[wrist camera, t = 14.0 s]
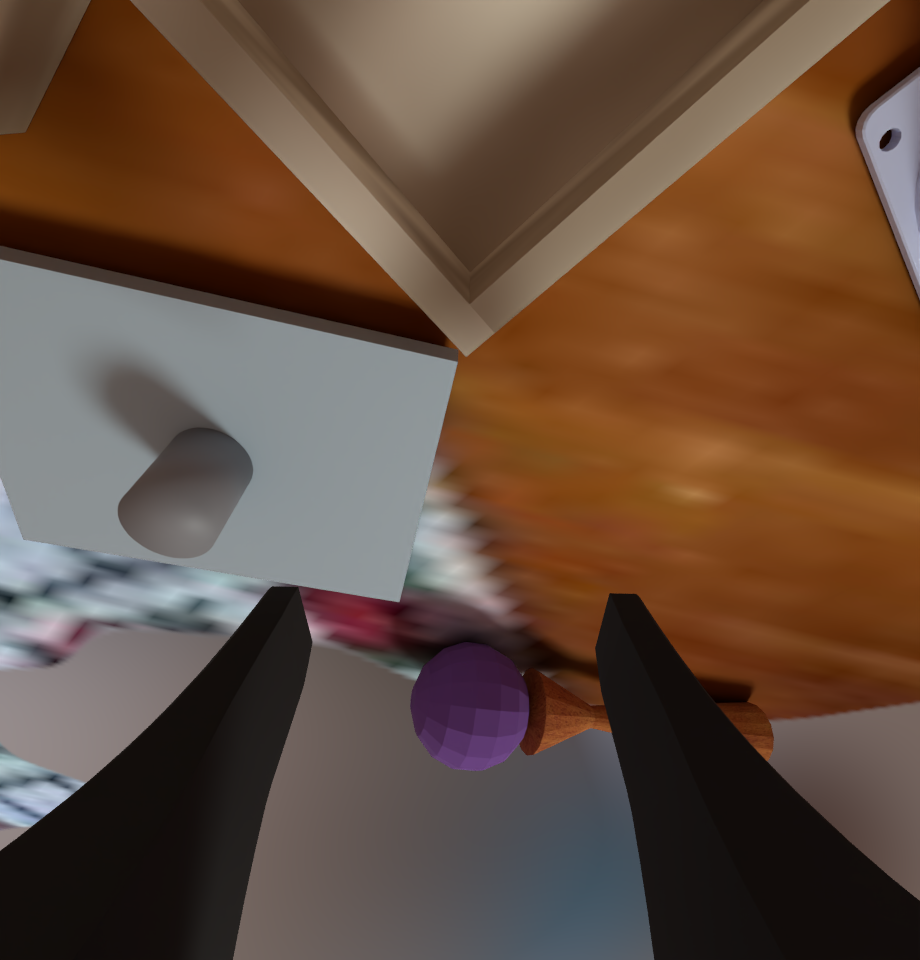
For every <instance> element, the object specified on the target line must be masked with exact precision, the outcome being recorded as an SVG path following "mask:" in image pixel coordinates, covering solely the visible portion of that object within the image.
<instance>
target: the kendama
mask: <svg viewBox="0 0 920 960" xmlns="http://www.w3.org/2000/svg"><path fill="white" fill-rule="evenodd" d="M716 704H717V705H718V706H719V707H720V709H721V710H722V711H723V712H724V713H725V715H726V716H727V717H728V718H729V719H730V721H731V722H732V723H733V724H734V725H735V726H736V728H737V729H738V730H739V731H740V732H741V733H742V735H743V736H744V737H745V738H746V739H747V740H748V741H749V742H750V744H751V745H752V746H753V747H754V748H755V749H756V750H757V751H758V752H759V753H760V754H761V755H762V756H763V758H764V759H765V760H766V761H768V759H769V758H770V755H771V753H772V751H773V741H774V737H773V733H772V728H771V724H770V722H769V720H768V719H767V717H766V715H765V713H764V712H763V711H762V710H761V709H760V708H759V707H758V706H757V705H754V704H751V703H749V702H736V703H716ZM410 707H411V713H412V718H413V723H414V728H415V732H416V734H417V736H418V738H419V739H420V741H421V742H422V743H423V745H424V746H425V748H426V749H427V751H428V752H429V753H430V755H431V756H432V757H433V758H435V759H437V760H438V761H440V762H442V763H444V764H445V765H447V766H449V767H450V768H452V769H461V770H462V769H463V770H474V771H476V770H484V769H487V768H489V767H491V766H494V765H496V764H499V763H501V762H504V761H505V760H506V759H507V757H508V756H509V755H510V754H511V753H512V752H513V750H514V749H515V748H516V747H517V746H518V745H519V744H520V747H521V749H522V751H523V752H524V753H525V754H526V755H534V754H536V753H538V752H540V751H542V750H544V749H546V748H549V747H551V746H553V745H555V744H557V743H559V742H561V741H563V740H566V739H568V738H570V737H572V736H574V735H576V734H578V733H580V732H583V731H585V730H587V729H589V728H593V729H598V730H602V731H606V732H611V733H612V731H611V728H610V724H609V720H608V716H607V712H606V708H605V705H596V706H590V705H589V704H587V703H586V702H584V701H583V700H581V699H580V698H578V697H576V696H575V695H573V694H572V693H570V692H569V691H567V690H566V689H564V688H563V687H561V686H560V685H558V684H557V683H555V682H554V681H552V680H551V679H549V678H548V677H546V676H545V675H543V674H542V673H540V672H539V671H537V670H535V669H534V668H530V669H528V670H526V671H525V673H524V675H523V676H522V675H521V673H520V672H519V670H518V669H517V667H516V666H515V665H514V663H513V662H512V660H511V659H509V658H508V657H506V656H504V655H503V654H501V653H499V652H498V651H496V650H495V649H493V648H491V647H490V646H488V645H485V644H478V643H470V642H463V643H460V644H457V645H454V646H450V647H447V648H444V649H443V650H442V651H441V652H439V653H438V654H437V655H436V656H435V657H433V658H432V659H431V660H430V661H429V662H428V663H426V664H425V665H424V666H423V668H422V670H421V672H420V674H419V676H418V679H417V681H416V683H415V685H414V687H413V690H412V695H411V705H410Z"/></svg>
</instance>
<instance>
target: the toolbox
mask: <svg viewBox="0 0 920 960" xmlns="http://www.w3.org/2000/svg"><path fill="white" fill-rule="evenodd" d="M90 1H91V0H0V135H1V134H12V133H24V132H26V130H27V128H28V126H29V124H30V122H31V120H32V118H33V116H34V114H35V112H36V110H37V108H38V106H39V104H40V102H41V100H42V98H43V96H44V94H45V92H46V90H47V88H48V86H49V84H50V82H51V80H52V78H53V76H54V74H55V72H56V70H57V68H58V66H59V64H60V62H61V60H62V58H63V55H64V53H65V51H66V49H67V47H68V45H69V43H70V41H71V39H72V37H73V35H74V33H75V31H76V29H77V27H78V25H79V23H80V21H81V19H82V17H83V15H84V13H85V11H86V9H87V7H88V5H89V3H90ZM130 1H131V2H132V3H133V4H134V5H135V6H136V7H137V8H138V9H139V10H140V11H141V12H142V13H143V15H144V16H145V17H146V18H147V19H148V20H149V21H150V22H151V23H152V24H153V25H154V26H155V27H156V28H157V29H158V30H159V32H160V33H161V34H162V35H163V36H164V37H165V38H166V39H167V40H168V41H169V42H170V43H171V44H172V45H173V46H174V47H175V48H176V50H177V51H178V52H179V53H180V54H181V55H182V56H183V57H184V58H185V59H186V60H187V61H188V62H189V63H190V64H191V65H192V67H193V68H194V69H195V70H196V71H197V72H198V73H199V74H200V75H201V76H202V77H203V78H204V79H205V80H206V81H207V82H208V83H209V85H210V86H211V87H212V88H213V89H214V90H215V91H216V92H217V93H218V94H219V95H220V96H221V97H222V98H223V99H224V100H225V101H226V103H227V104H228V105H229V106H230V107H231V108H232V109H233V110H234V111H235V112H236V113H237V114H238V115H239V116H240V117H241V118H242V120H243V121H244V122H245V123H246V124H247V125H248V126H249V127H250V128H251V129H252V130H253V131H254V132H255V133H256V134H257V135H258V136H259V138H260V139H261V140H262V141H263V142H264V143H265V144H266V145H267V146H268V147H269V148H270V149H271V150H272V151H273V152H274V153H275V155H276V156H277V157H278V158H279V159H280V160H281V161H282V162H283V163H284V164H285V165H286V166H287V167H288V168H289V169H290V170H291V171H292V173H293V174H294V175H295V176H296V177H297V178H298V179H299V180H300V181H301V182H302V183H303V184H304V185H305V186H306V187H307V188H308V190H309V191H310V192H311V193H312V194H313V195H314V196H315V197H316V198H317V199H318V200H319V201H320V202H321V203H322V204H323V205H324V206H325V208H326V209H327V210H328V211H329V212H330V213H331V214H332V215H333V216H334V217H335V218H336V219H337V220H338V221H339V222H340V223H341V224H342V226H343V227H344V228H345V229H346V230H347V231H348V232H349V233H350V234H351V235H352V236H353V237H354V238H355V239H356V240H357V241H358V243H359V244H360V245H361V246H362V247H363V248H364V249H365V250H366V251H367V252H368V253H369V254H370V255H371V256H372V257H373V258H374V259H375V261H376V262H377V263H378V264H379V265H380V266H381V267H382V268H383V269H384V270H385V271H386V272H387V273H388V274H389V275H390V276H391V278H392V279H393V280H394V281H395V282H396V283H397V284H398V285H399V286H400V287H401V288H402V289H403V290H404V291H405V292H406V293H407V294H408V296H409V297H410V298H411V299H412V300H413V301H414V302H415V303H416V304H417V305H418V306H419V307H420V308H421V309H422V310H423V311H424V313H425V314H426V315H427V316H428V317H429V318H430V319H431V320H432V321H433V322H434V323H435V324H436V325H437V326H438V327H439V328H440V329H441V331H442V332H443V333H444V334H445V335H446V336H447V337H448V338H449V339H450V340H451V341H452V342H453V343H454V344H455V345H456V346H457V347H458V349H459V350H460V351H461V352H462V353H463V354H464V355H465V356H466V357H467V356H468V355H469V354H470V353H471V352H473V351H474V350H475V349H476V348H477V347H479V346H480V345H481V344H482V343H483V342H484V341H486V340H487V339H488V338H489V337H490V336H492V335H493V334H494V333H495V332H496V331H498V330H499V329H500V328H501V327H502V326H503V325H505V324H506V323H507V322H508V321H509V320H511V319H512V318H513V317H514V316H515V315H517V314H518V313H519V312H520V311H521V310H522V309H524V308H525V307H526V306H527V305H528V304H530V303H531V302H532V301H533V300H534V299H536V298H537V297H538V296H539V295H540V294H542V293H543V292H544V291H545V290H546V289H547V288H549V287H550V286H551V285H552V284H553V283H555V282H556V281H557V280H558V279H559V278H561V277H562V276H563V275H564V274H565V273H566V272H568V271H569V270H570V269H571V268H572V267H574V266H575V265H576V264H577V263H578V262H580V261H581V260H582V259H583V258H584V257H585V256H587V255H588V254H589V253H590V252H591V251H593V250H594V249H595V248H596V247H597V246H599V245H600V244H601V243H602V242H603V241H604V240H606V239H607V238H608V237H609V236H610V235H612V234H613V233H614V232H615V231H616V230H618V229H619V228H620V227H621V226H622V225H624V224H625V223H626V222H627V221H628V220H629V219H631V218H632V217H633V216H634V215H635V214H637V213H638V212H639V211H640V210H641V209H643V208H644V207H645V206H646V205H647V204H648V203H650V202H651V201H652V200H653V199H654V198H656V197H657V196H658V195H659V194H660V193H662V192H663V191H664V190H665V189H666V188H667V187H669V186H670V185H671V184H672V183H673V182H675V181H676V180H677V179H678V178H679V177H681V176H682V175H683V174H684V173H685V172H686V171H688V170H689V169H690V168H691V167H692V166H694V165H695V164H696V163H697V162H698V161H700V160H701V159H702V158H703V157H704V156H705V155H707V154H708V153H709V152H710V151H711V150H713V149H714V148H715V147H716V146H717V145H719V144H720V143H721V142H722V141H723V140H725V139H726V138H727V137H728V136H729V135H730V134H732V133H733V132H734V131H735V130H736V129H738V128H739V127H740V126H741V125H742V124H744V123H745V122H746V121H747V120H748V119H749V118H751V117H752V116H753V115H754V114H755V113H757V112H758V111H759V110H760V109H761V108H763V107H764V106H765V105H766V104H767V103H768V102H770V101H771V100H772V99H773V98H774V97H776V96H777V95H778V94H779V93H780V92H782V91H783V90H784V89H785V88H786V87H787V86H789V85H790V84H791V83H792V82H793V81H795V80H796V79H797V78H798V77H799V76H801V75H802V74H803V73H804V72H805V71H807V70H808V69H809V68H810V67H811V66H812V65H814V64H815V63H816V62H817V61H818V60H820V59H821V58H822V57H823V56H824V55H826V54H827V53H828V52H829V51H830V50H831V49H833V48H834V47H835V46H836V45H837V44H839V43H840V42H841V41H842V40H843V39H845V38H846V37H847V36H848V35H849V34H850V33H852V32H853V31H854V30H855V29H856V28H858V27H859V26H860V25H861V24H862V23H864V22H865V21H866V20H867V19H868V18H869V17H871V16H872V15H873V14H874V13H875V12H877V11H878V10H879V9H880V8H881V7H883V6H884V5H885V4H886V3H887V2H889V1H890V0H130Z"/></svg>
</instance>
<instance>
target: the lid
mask: <svg viewBox="0 0 920 960" xmlns="http://www.w3.org/2000/svg"><path fill="white" fill-rule="evenodd" d="M457 363H458V350H457V349H452V348H448V347H444V346H439V345H435V344H430V343H426V342H422V341H417V340H413V339H408V338H404V337H400V336H395V335H391V334H386V333H382V332H378V331H373V330H369V329H364V328H360V327H356V326H351V325H347V324H342V323H338V322H334V321H329V320H325V319H320V318H316V317H312V316H307V315H303V314H298V313H294V312H290V311H285V310H281V309H276V308H272V307H268V306H263V305H259V304H254V303H250V302H246V301H241V300H237V299H232V298H228V297H224V296H219V295H215V294H210V293H206V292H202V291H197V290H193V289H188V288H184V287H180V286H175V285H171V284H166V283H162V282H158V281H153V280H149V279H144V278H140V277H136V276H131V275H127V274H122V273H118V272H114V271H109V270H105V269H100V268H96V267H92V266H87V265H83V264H78V263H74V262H70V261H65V260H61V259H56V258H52V257H48V256H43V255H39V254H34V253H30V252H26V251H21V250H17V249H12V248H8V247H4V246H0V477H1V480H2V482H3V485H4V488H5V491H6V493H7V496H8V499H9V501H10V504H11V507H12V510H13V512H14V515H15V518H16V521H17V523H18V526H19V529H20V532H21V534H22V537H23V539H24V540H30V541H36V542H42V543H48V544H54V545H60V546H66V547H72V548H78V549H84V550H90V551H96V552H102V553H108V554H114V555H119V556H125V557H131V558H137V559H143V560H149V561H155V562H161V563H167V564H173V565H179V566H185V567H191V568H197V569H203V570H209V571H215V572H221V573H227V574H233V575H239V576H245V577H251V578H257V579H263V580H269V581H275V582H281V583H287V584H293V585H299V586H305V587H311V588H317V589H323V590H329V591H335V592H341V593H347V594H353V595H359V596H365V597H371V598H377V599H383V600H389V601H395V602H399V601H400V597H401V593H402V589H403V585H404V581H405V577H406V573H407V569H408V564H409V560H410V556H411V552H412V548H413V544H414V540H415V536H416V531H417V527H418V523H419V519H420V515H421V511H422V507H423V503H424V498H425V494H426V490H427V486H428V482H429V478H430V474H431V470H432V466H433V461H434V457H435V453H436V449H437V445H438V441H439V437H440V433H441V428H442V424H443V420H444V416H445V412H446V408H447V404H448V400H449V396H450V391H451V387H452V383H453V379H454V375H455V371H456V367H457Z"/></svg>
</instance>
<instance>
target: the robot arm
mask: <svg viewBox="0 0 920 960" xmlns="http://www.w3.org/2000/svg"><path fill="white" fill-rule="evenodd" d="M888 130H891V131H892V137H891V139H890V142H889V143H888V144H887V145H886V146H885V147H884V148H882V149H880V148H879V142H880V140H881V138H882V136H883V135H884V134H885V133H886V132H887V131H888ZM855 131H856V138H857V141H858V143H859V146H860V148H861V151H862V153H863V156H864V158H865V161H866V164H867V166H868V169H869V171H870V174H871V176H872V179H873V182H874V184H875V187H876V189H877V192H878V194H879V197H880V199H881V202H882V205H883V207H884V210H885V212H886V215H887V217H888V220H889V222H890V225H891V228H892V230H893V233H894V235H895V238H896V240H897V243H898V246H899V248H900V251H901V253H902V256H903V258H904V261H905V263H906V266H907V269H908V271H909V274H910V276H911V279H912V281H913V284H914V287H915V289H916V292H917V294H918V297H919V299H920V67H919V68H917V69H916V70H915V71H914V72H912V73H911V74H910V75H908V76H907V77H906V78H905V79H903V80H902V81H901V82H899V83H898V84H897V85H896V86H894V87H893V88H892V89H890V90H889V91H888V92H886V93H885V94H884V95H883V96H881V97H880V98H879V99H877V100H876V101H875V102H874V103H872V104H871V105H870V106H869V107H868V108H867V109H866V110H865V111H864V112H863V113H862V115H861V116H860V118H859V120H858V122H857V126H856V130H855ZM311 647H312V638H311V634H310V631H309V627H308V623H307V619H306V615H305V611H304V607H303V604H302V600H301V596H300V592H299V588H298V587H274V586H272V587H271V588H270V589H269V590H268V591H267V592H266V593H265V595H264V596H263V597H262V599H261V600H260V601H259V602H258V604H257V605H256V606H255V608H254V609H253V610H252V611H251V613H250V614H249V615H248V616H247V618H246V619H245V620H244V621H243V623H242V624H241V625H240V626H239V628H238V629H237V630H236V631H235V632H234V634H233V635H232V636H231V637H230V639H229V640H228V641H227V642H226V643H225V645H224V646H223V647H222V648H221V649H220V650H219V652H218V653H217V654H216V655H215V656H214V657H213V659H212V660H211V661H210V662H209V663H208V664H207V666H206V667H205V668H204V669H203V670H202V671H201V672H200V673H199V675H198V676H197V677H196V678H195V679H194V680H193V681H192V682H191V683H190V684H189V685H188V686H187V687H186V689H185V690H184V691H183V692H182V693H181V694H180V695H179V696H178V697H177V698H176V699H175V700H174V702H173V703H172V704H171V705H170V706H169V707H168V708H167V709H166V710H165V711H164V712H163V713H162V714H161V715H160V716H159V717H158V718H157V719H156V720H155V721H154V722H153V723H152V724H151V725H150V726H149V727H148V728H147V729H146V730H145V731H143V732H142V733H141V734H140V735H139V736H138V737H137V738H136V739H135V740H134V741H133V742H132V743H131V744H130V745H129V746H128V747H126V749H124V750H123V751H122V752H121V753H120V754H119V755H118V756H116V757H115V758H114V759H113V760H112V761H111V762H110V763H109V764H107V765H106V766H105V767H104V768H103V769H102V770H101V771H100V772H99V773H97V774H96V775H95V776H94V777H93V778H92V779H90V780H89V781H88V782H87V783H86V784H84V785H83V786H82V787H81V788H80V789H79V790H77V791H76V792H75V793H74V794H72V795H71V796H70V797H69V798H68V799H66V800H65V801H64V802H62V803H61V804H60V805H59V806H57V807H56V808H55V809H54V810H52V811H51V812H50V813H48V814H47V815H46V816H45V817H43V818H42V819H41V820H40V821H38V822H37V823H36V824H35V825H33V826H32V827H31V828H29V829H28V830H27V831H26V832H25V833H23V834H22V835H21V836H19V837H18V838H17V839H15V840H14V841H13V842H11V843H10V844H9V845H7V846H6V847H5V848H3V849H2V850H1V851H0V960H233V956H234V951H235V945H236V940H237V934H238V930H239V925H240V920H241V914H242V910H243V904H244V899H245V895H246V890H247V885H248V881H249V876H250V872H251V867H252V862H253V858H254V853H255V848H256V844H257V840H258V836H259V831H260V827H261V822H262V818H263V814H264V810H265V805H266V802H267V798H268V794H269V791H270V788H271V784H272V781H273V778H274V775H275V772H276V769H277V766H278V763H279V760H280V757H281V754H282V751H283V748H284V744H285V741H286V738H287V735H288V732H289V729H290V726H291V723H292V720H293V717H294V714H295V711H296V708H297V705H298V702H299V699H300V695H301V692H302V689H303V686H304V682H305V677H306V672H307V668H308V663H309V657H310V652H311ZM595 650H596V657H597V665H598V672H599V679H600V686H601V692H602V696H603V700H604V704H605V708H606V712H607V716H608V720H609V724H610V728H611V731H612V735H613V739H614V743H615V747H616V750H617V754H618V758H619V762H620V766H621V770H622V773H623V777H624V781H625V785H626V789H627V793H628V798H629V802H630V806H631V811H632V816H633V822H634V828H635V834H636V840H637V846H638V852H639V858H640V864H641V870H642V877H643V884H644V890H645V896H646V903H647V909H648V917H649V924H650V932H651V939H652V946H653V953H654V960H920V901H919V900H918V899H917V898H915V897H914V896H913V895H912V894H910V893H909V892H908V891H907V890H905V889H904V888H903V887H902V886H900V885H899V884H898V883H897V882H895V881H894V880H893V879H892V878H891V877H890V876H888V875H887V874H886V873H885V872H884V871H883V870H881V869H880V868H879V867H878V866H877V865H876V864H875V863H873V862H872V861H871V860H870V859H869V858H868V857H867V856H865V855H864V854H863V853H862V852H861V851H860V850H858V849H857V848H856V847H855V846H854V845H852V843H850V842H849V841H848V840H847V839H846V838H845V837H844V836H843V835H842V834H841V833H840V832H839V831H838V830H837V829H836V828H835V827H833V826H832V825H831V824H830V823H829V822H828V821H827V820H826V819H825V818H824V817H823V816H822V815H821V814H820V813H818V812H817V811H816V810H815V809H814V808H813V807H812V806H811V805H810V804H809V803H808V802H807V801H806V800H805V799H804V798H803V797H801V796H800V795H799V794H798V793H797V792H796V791H795V790H794V789H793V788H792V787H791V786H790V785H789V784H788V783H787V781H786V780H784V778H782V776H781V775H780V774H779V773H778V772H777V771H776V770H775V769H774V768H773V767H772V766H771V765H770V764H769V763H768V762H767V761H766V760H765V759H764V758H763V756H762V755H761V754H760V753H759V752H758V751H757V750H756V749H755V748H754V747H753V746H752V745H751V744H750V742H749V741H748V740H747V739H746V738H745V737H744V736H743V735H742V733H741V732H740V731H739V730H738V729H737V728H736V726H735V725H734V724H733V723H732V722H731V721H730V719H729V718H728V717H727V716H726V715H725V713H724V712H723V711H722V710H721V709H720V707H719V706H718V705H717V704H716V703H715V701H714V700H713V699H712V698H711V696H710V695H709V694H708V693H707V691H706V690H705V689H704V688H703V686H702V685H701V684H700V682H699V681H698V680H697V678H696V677H695V676H694V674H693V673H692V672H691V670H690V669H689V668H688V666H687V665H686V664H685V663H684V661H683V660H682V658H681V657H680V656H679V654H678V653H677V652H676V650H675V649H674V647H673V646H672V645H671V643H670V642H669V640H668V639H667V637H666V636H665V635H664V633H663V632H662V630H661V629H660V627H659V626H658V624H657V623H656V621H655V620H654V618H653V617H652V615H651V614H650V612H649V611H648V609H647V608H646V606H645V605H644V603H643V602H642V600H641V599H640V597H639V596H638V595H637V594H613V593H610V594H609V598H608V602H607V605H606V609H605V613H604V617H603V621H602V625H601V628H600V632H599V636H598V640H597V644H596V647H595Z"/></svg>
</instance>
